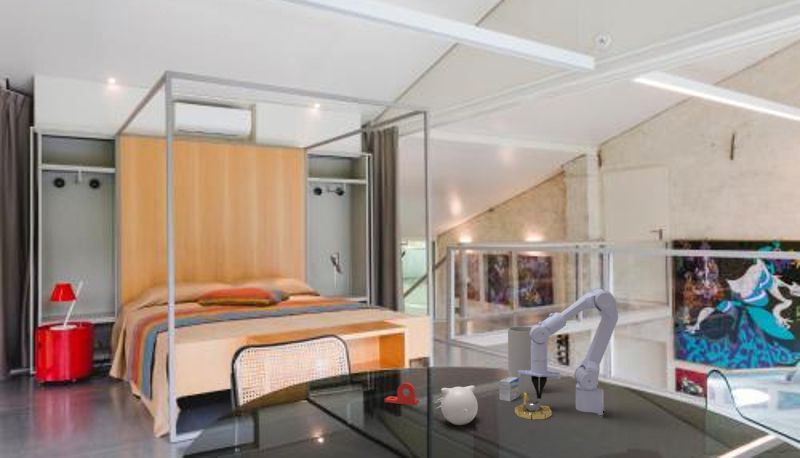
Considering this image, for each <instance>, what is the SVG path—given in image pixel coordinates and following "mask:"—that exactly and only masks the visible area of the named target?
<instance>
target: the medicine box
mask: <svg viewBox="0 0 800 458" xmlns="http://www.w3.org/2000/svg"><path fill="white" fill-rule="evenodd" d="M519 397H520V394H519V378H516V377H508V376H507V377H505V378H503V379H501V380H499V400H501V401H506V402H512V401H514V400H515V399H518V398H519Z"/></svg>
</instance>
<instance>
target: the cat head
mask: <svg viewBox="0 0 800 458" xmlns="http://www.w3.org/2000/svg"><path fill="white" fill-rule="evenodd" d="M475 389H476V387H475V385H468V386H454V387H450V388H449V387H448V388H447V387H442V388H441V389H440V392H441V393H442V397H440V398H439V399H436V400H435V404H436V403H440V405H439V406H438V407H436V408H435V410H436V409H439V408H441V413H442V415H443V416H444V418H445V419H446V420H447V421H448V422H449V423H451V424H453V425H456V426H463V425H467V424H469V423H471V422H472V421H473V420H474V419H475V418H476V416H477V413H478V410H479V409H478V408H479V405H478V404H479V403H478V400H477V397H476V396H475V394H474V392H475Z"/></svg>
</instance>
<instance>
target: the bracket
mask: <svg viewBox="0 0 800 458" xmlns="http://www.w3.org/2000/svg"><path fill="white" fill-rule="evenodd" d="M405 389H406V390H408V393H409V394H408V395H406V394H405V392H404V390H405ZM384 403H391V404H399V405H409V406H416V405H417V404H418V403H419V398H417V397H416V389H415V387H414V386H413V385H412V383H409V382H403V383H401V384H400V385H399V386H398V388H397V395H396V396H393V395H391V396H387V397H385V398H384Z"/></svg>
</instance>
